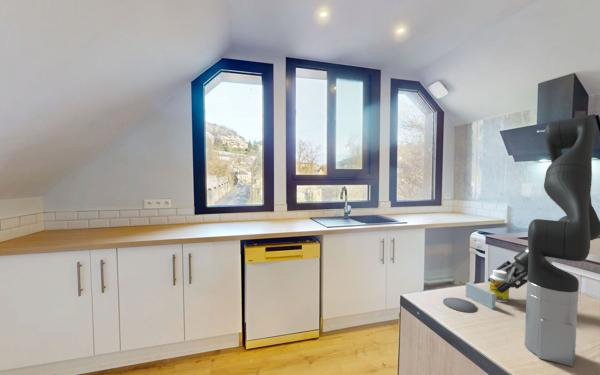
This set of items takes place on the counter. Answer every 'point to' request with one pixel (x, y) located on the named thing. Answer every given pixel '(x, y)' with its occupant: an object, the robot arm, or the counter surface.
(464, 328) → the counter surface
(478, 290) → the low wall
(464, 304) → the resting mat
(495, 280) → the supplement bottle
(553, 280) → the robot arm
